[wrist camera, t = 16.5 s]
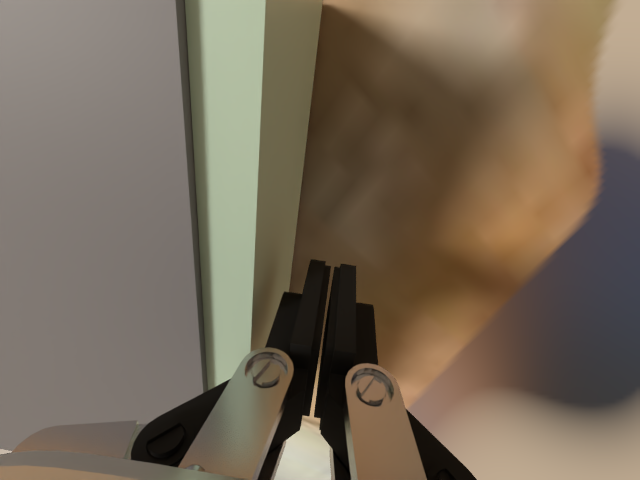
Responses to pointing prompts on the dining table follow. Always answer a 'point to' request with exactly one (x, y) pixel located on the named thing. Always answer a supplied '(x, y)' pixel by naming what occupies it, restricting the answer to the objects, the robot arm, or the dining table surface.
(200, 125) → the green drawer
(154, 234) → the grey drawer cabinet
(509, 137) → the dining table surface
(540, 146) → the dining table surface
